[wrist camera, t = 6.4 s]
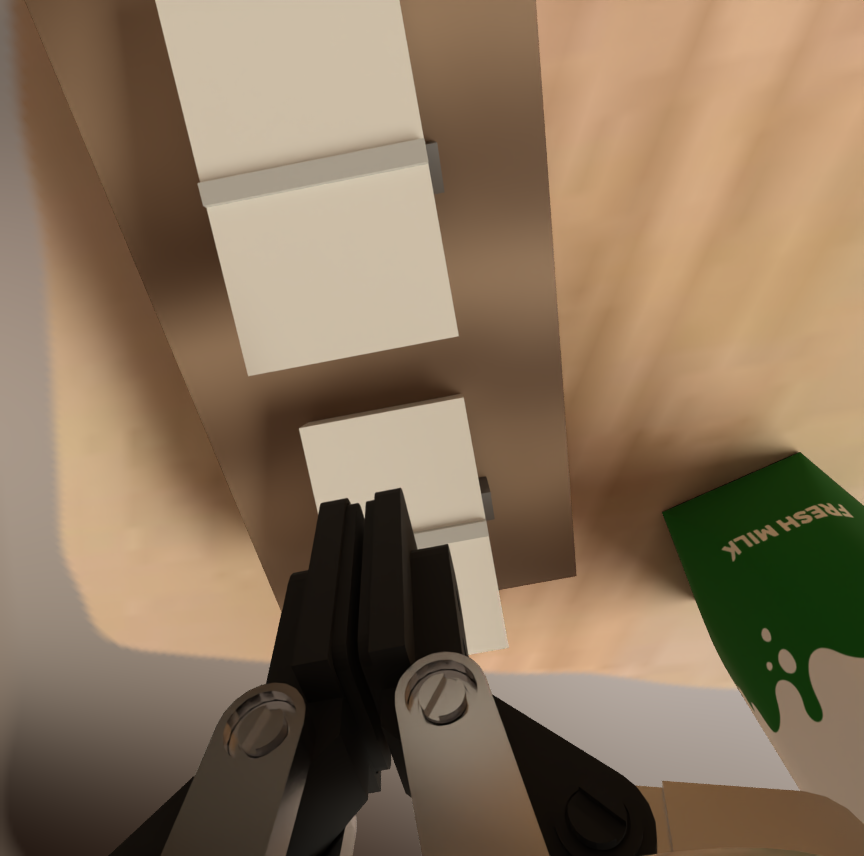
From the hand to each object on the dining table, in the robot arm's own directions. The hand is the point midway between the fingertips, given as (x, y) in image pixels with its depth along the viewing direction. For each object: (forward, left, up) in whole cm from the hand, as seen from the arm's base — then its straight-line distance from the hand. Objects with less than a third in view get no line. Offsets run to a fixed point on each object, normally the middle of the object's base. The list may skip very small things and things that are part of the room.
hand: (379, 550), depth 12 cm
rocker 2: (+5, 0, -7) cm, 8 cm away
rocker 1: (-6, 0, -7) cm, 9 cm away
